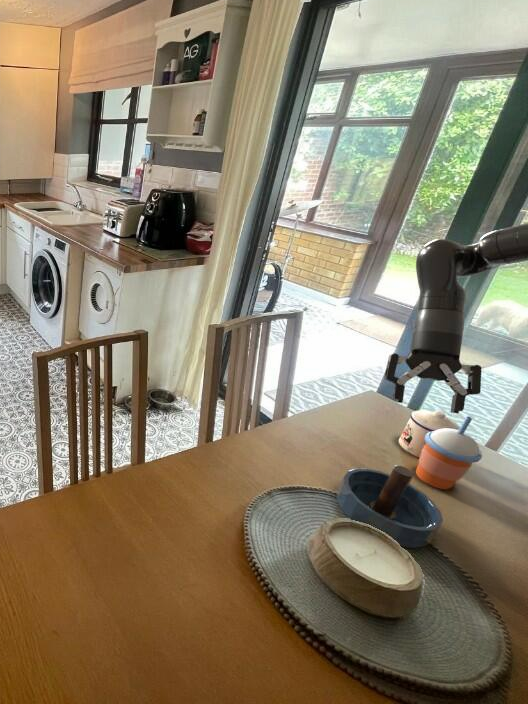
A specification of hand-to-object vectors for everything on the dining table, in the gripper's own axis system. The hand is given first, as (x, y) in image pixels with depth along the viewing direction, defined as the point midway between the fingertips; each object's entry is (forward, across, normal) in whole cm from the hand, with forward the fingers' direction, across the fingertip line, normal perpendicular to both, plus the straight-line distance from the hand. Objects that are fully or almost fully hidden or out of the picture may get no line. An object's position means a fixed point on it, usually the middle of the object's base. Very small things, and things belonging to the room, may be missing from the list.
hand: (426, 407), depth 86 cm
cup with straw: (+16, +6, +17) cm, 24 cm away
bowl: (+24, -5, -1) cm, 25 cm away
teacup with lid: (+10, +6, +26) cm, 28 cm away
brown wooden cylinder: (+24, -5, -1) cm, 24 cm away
